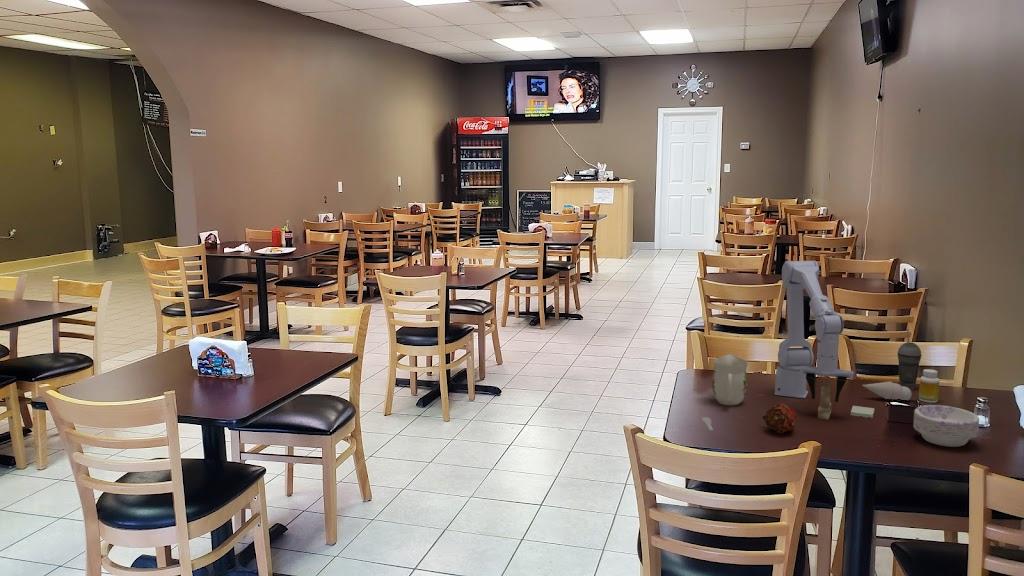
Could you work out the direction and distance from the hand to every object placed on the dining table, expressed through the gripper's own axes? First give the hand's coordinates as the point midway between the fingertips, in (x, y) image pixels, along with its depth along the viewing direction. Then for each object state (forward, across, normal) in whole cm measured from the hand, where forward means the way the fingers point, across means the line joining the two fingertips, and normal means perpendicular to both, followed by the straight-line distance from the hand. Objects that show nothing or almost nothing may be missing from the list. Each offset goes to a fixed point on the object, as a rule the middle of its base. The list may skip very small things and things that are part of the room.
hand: (825, 399), depth 228 cm
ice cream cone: (+5, +16, +25) cm, 30 cm away
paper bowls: (+5, +31, -10) cm, 33 cm away
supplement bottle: (+5, +28, +30) cm, 41 cm away
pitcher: (+5, -28, 0) cm, 28 cm away
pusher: (+5, 0, 0) cm, 5 cm away
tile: (+5, +7, +7) cm, 11 cm away
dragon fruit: (+5, -10, -20) cm, 23 cm away
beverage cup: (+5, +22, +43) cm, 49 cm away
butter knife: (+5, -27, -29) cm, 40 cm away
